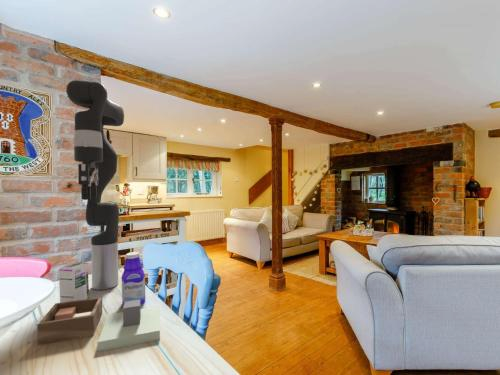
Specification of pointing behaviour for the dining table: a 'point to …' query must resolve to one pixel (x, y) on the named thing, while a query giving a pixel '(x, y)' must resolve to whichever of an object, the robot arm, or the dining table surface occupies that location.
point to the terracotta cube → (65, 313)
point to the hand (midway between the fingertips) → (89, 198)
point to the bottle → (133, 279)
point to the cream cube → (82, 314)
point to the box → (70, 321)
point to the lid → (130, 326)
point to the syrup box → (74, 282)
